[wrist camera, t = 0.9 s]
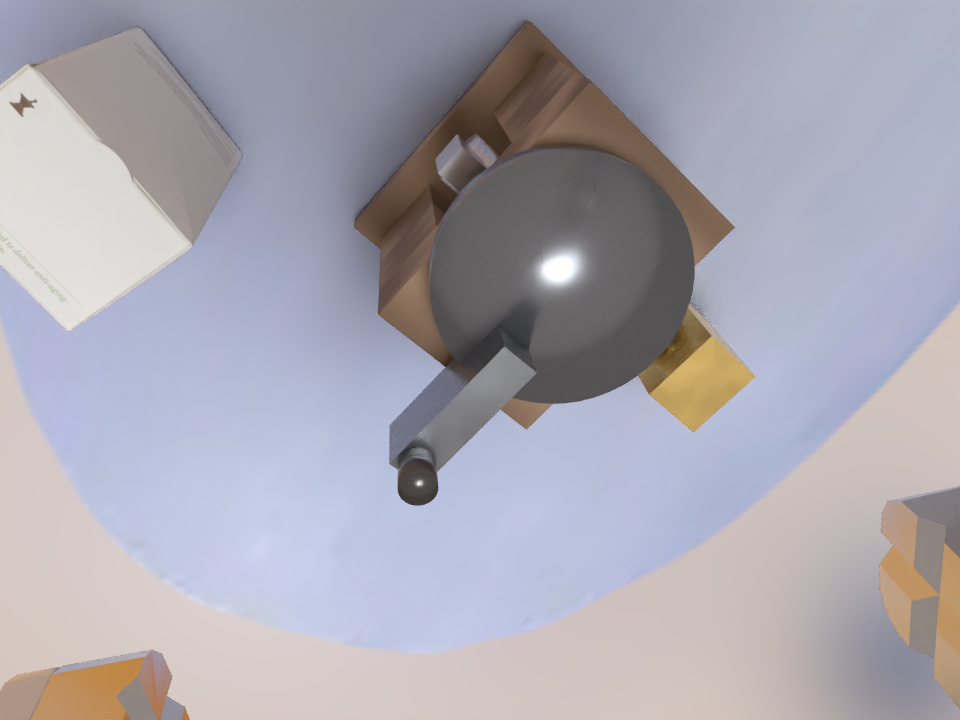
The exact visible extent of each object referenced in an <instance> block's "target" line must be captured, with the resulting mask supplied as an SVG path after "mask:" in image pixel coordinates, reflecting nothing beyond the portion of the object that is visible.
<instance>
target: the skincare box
mask: <svg viewBox="0 0 960 720" xmlns="http://www.w3.org/2000/svg"><path fill="white" fill-rule="evenodd" d="M242 157H243V155H242V153H241V152H240V150H239V149H238V148H237V146H236V145H235V144H234V143H233V141H232V140H231V139H230V138H229V136H228V135H227V134H226V133H225V131H224V130H223V129H222V128H221V126H220V125H219V124H218V122H217V121H216V120H215V119H214V117H213V116H212V115H211V114H210V112H209V111H208V110H207V109H206V107H205V106H204V105H203V104H202V102H201V101H200V100H199V99H198V97H197V96H196V95H195V94H194V92H193V91H192V90H191V89H190V87H189V86H188V85H187V84H186V82H185V81H184V80H183V79H182V77H181V76H180V75H179V74H178V72H177V71H176V70H175V69H174V67H173V66H172V65H171V64H170V62H169V61H168V60H167V59H166V57H165V56H164V55H163V54H162V52H161V51H160V50H159V49H158V48H157V46H156V45H155V44H154V43H153V42H152V40H151V39H150V38H149V37H148V36H147V34H146V33H145V32H144V31H143V30H142V29H141V28H140V27H135V28H131V29H129V30H126V31H124V32H121V33H119V34H116V35H114V36H111V37H108V38H105V39H103V40H100V41H97V42H95V43H92V44H89V45H87V46H84V47H81V48H78V49H76V50H73V51H70V52H67V53H65V54H62V55H59V56H57V57H54V58H51V59H49V60H45V61H42V62H38V63H27V64H25V65H24V66H23V67H22V68H21V69H19V70H18V71H17V72H16V73H15V74H13V75H12V76H11V77H9V78H8V79H7V80H6V81H4V82H3V83H2V84H1V85H0V265H1V266H2V267H3V268H4V269H5V270H6V271H7V272H8V273H9V274H10V275H11V276H12V277H13V278H14V279H15V280H16V281H17V282H18V283H19V284H20V285H21V286H22V287H23V288H24V289H25V290H26V291H27V292H28V293H29V294H30V295H31V296H32V297H33V298H34V299H35V300H36V301H37V302H38V303H39V304H40V305H41V306H42V307H43V308H44V309H45V310H46V311H48V312H49V313H50V314H51V315H52V316H53V317H54V318H55V319H56V320H57V321H58V322H59V323H60V324H61V325H62V326H63V327H64V328H65V329H66V330H67V331H71V330H73V329H74V328H76V327H77V326H79V325H81V324H82V323H84V322H85V321H87V320H88V319H90V318H92V317H93V316H95V315H96V314H98V313H99V312H101V311H102V310H104V309H105V308H107V307H108V306H110V305H111V304H112V303H114V302H115V301H117V300H118V299H120V298H121V297H123V296H124V295H126V294H127V293H128V292H130V291H131V290H133V289H134V288H136V287H137V286H139V285H140V284H141V283H143V282H144V281H146V280H147V279H149V278H150V277H152V276H153V275H154V274H156V273H157V272H159V271H160V270H162V269H163V268H164V267H166V266H167V265H169V264H170V263H172V262H173V261H174V260H176V259H177V258H179V257H180V256H181V255H183V254H184V253H186V252H187V251H188V250H190V249H191V248H192V247H193V245H194V243H195V241H196V239H197V237H198V235H199V233H200V232H201V230H202V228H203V226H204V225H205V223H206V221H207V219H208V217H209V216H210V214H211V212H212V210H213V209H214V207H215V205H216V203H217V201H218V200H219V198H220V196H221V194H222V193H223V191H224V189H225V187H226V186H227V184H228V182H229V180H230V179H231V177H232V175H233V173H234V171H235V170H236V168H237V166H238V164H239V162H240V160H241V159H242Z"/></svg>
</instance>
